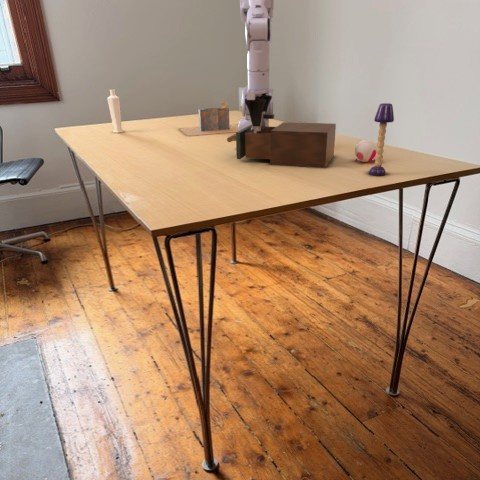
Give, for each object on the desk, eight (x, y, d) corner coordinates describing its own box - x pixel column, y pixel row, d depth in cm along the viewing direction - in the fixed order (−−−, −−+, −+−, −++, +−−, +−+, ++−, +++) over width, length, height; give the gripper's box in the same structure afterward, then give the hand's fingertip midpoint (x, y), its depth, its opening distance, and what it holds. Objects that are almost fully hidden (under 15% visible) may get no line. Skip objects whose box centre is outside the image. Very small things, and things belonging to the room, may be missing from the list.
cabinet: (270, 164, 137) (270, 130, 132) (282, 153, 148) (283, 122, 144) (325, 167, 132) (327, 132, 128) (333, 156, 144) (335, 123, 139)
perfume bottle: (127, 131, 190) (121, 89, 182) (119, 133, 186) (112, 90, 179) (118, 130, 192) (112, 88, 184) (110, 132, 189) (104, 89, 181)
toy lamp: (366, 171, 128) (374, 102, 119) (384, 171, 128) (393, 102, 119) (370, 175, 124) (378, 105, 115) (388, 175, 123) (398, 104, 115)
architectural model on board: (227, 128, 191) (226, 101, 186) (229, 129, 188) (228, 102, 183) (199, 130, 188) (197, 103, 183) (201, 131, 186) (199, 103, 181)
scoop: (250, 131, 136) (249, 112, 133) (254, 128, 139) (253, 110, 136) (271, 132, 134) (271, 112, 132) (275, 129, 137) (275, 110, 135)
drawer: (223, 158, 141) (222, 132, 137) (237, 149, 151) (237, 124, 148) (285, 161, 135) (286, 134, 132) (296, 151, 146) (296, 126, 143)
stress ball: (368, 176, 136) (384, 157, 131) (346, 158, 135) (361, 138, 131) (372, 169, 142) (388, 150, 137) (351, 151, 141) (366, 132, 137)
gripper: (265, 73, 122) (265, 129, 129) (279, 68, 134) (278, 121, 141) (238, 73, 124) (240, 129, 131) (255, 68, 136) (255, 120, 143)
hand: (258, 125), depth 136 cm, fingers closed on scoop, 4 cm apart
